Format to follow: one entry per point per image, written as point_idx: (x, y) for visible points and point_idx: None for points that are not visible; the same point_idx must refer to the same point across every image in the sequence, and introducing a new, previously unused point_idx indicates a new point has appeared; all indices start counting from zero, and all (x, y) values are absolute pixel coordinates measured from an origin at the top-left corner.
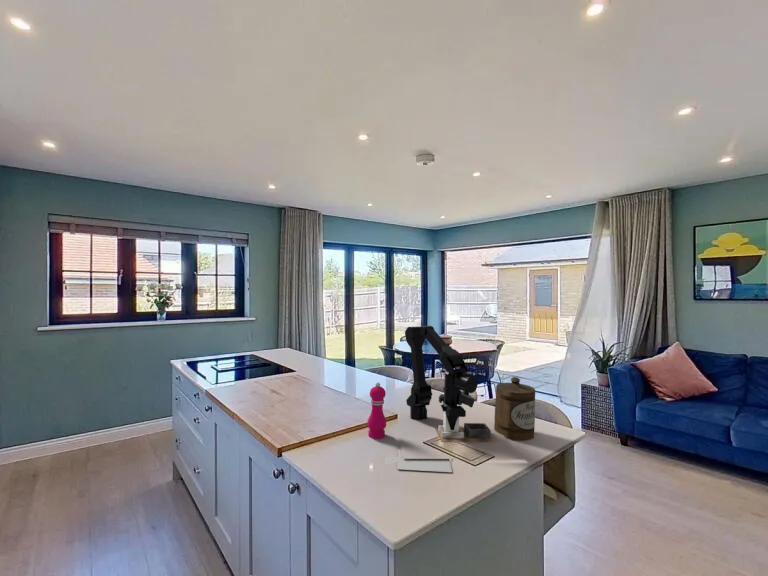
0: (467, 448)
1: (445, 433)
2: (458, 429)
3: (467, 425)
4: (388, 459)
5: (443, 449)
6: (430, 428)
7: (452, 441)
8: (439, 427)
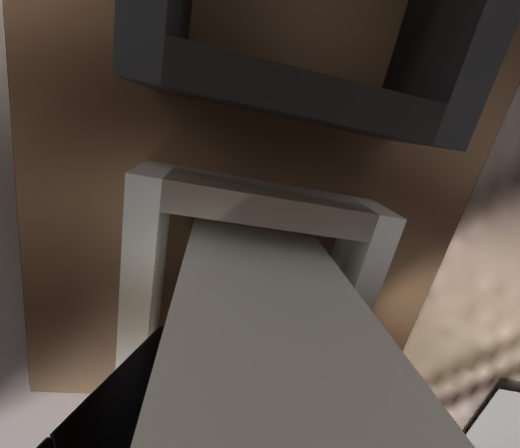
0: (500, 225)
1: None
2: (342, 278)
3: (262, 66)
4: None
5: (436, 389)
6: (6, 389)
7: (400, 328)
8: None
